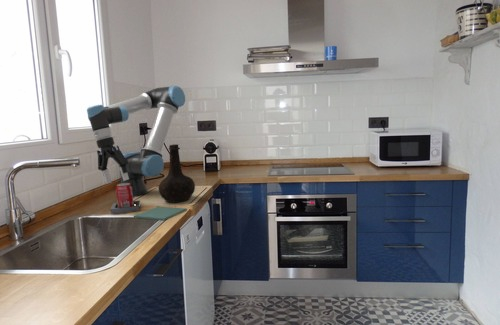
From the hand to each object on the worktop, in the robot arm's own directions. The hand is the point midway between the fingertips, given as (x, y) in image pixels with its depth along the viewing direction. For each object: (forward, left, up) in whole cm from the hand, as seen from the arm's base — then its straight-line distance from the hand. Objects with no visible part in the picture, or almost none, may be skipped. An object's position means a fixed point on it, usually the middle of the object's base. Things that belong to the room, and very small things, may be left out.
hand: (117, 181), depth 173 cm
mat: (+5, +29, -12) cm, 32 cm away
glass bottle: (-18, +21, -13) cm, 30 cm away
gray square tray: (+3, +7, -12) cm, 14 cm away
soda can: (+3, +7, -13) cm, 15 cm away
